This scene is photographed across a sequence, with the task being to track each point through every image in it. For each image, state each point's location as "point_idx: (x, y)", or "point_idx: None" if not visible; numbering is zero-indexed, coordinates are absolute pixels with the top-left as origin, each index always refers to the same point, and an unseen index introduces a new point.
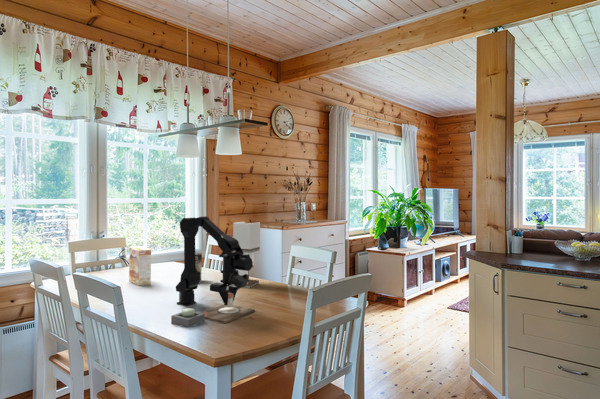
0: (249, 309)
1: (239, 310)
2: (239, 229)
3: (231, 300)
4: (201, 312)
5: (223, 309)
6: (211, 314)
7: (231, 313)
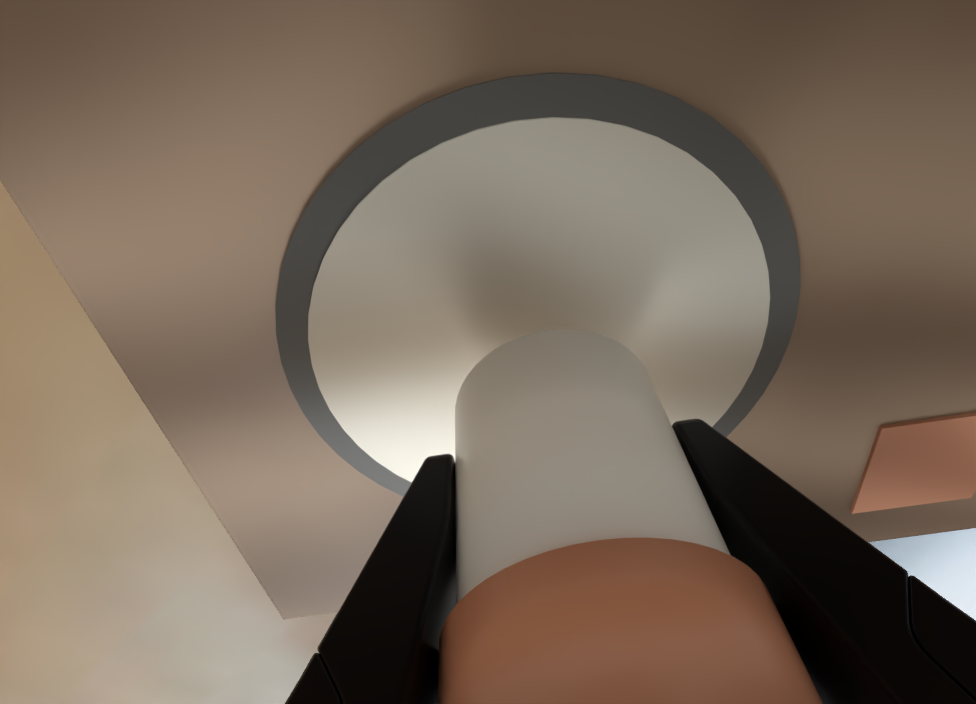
0: (42, 42)
1: (363, 179)
2: None
3: (606, 469)
4: (873, 537)
5: None
6: (926, 385)
7: (694, 135)
